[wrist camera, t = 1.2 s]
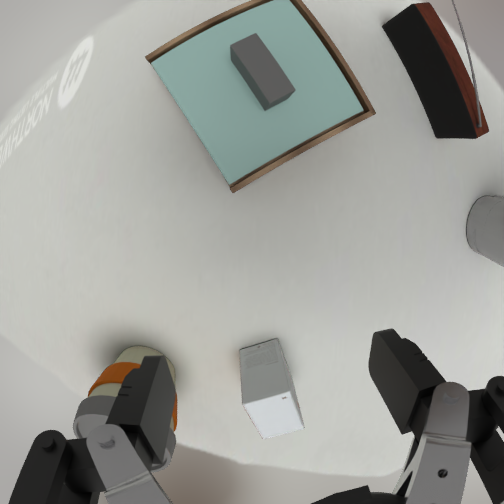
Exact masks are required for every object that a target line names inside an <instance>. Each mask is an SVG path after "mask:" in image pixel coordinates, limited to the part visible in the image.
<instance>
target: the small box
mask: <svg viewBox="0 0 504 504" xmlns="http://www.w3.org/2000/svg"><path fill="white" fill-rule="evenodd" d="M240 372H241V391H242V405H243V407H244V408H245V410H246V412H247V413H248V415H249V417H250V419H251V420H252V422H253V424H254V425H255V427H256V429H257V430H258V432H259V434H260V435H261V437H262V439H266V438H271V437H275V436H279V435H283V434H287V433H290V432H294V431H298V430H301V429H304V428H305V427H304V423H303V419H302V415H301V411H300V407H299V403H298V399H297V395H296V391H295V387H294V383H293V380H292V376H291V374H290V371H289V368H288V366H287V363H286V360H285V357H284V355H283V352H282V349H281V346H280V344H279V341H278V339H274V340H271V341H268V342H265V343H261V344H258V345H255V346H251V347H248V348H245V349H241V350H240Z"/></svg>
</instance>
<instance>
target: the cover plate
mask: <svg viewBox="0 0 504 504" xmlns="http://www.w3.org/2000/svg"><path fill="white" fill-rule="evenodd" d="M151 64H152V66H153V67H154V69H155V71H156V72H157V74H158V75H159V77H160V78H161V80H162V81H163V83H164V84H165V86H166V87H167V89H168V90H169V92H170V93H171V95H172V96H173V98H174V100H175V101H176V103H177V104H178V106H179V107H180V109H181V110H182V112H183V113H184V115H185V116H186V118H187V120H188V121H189V123H190V124H191V126H192V127H193V129H194V130H195V132H196V134H197V135H198V137H199V138H200V140H201V141H202V143H203V144H204V146H205V148H206V149H207V151H208V152H209V154H210V155H211V157H212V159H213V160H214V162H215V163H216V165H217V166H218V168H219V170H220V171H221V173H222V174H223V176H224V178H225V179H226V181H227V182H228V184H229V185H230V184H232V183H233V182H235V181H236V180H238V179H240V178H241V177H243V176H245V175H246V174H248V173H250V172H251V171H253V170H255V169H256V168H258V167H260V166H262V165H263V164H265V163H267V162H268V161H270V160H272V159H274V158H275V157H277V156H279V155H281V154H282V153H284V152H286V151H288V150H289V149H291V148H293V147H295V146H297V145H298V144H300V143H302V142H304V141H306V140H308V139H309V138H311V137H313V136H315V135H317V134H319V133H321V132H322V131H324V130H326V129H328V128H330V127H332V126H334V125H336V124H338V123H340V122H342V121H344V120H346V119H347V118H349V117H351V116H353V115H355V114H357V113H359V112H361V111H363V108H362V106H361V104H360V103H359V101H358V99H357V97H356V96H355V94H354V92H353V90H352V89H351V87H350V85H349V84H348V82H347V80H346V79H345V77H344V76H343V74H342V72H341V71H340V69H339V68H338V66H337V64H336V63H335V61H334V60H333V58H332V57H331V55H330V54H329V52H328V51H327V49H326V48H325V47H324V45H323V44H322V42H321V41H320V39H319V38H318V37H317V35H316V34H315V32H314V31H313V30H312V28H311V27H310V26H309V24H308V23H307V22H306V20H305V19H304V18H303V16H302V15H301V14H300V13H299V11H298V10H297V9H296V8H295V6H294V5H293V4H292V3H291V1H290V0H273V1H270V2H268V3H265V4H263V5H260V6H258V7H255V8H253V9H250V10H248V11H246V12H243V13H241V14H239V15H237V16H234V17H232V18H230V19H228V20H226V21H224V22H222V23H220V24H217V25H215V26H213V27H212V28H210V29H208V30H206V31H204V32H202V33H200V34H198V35H196V36H195V37H193V38H191V39H189V40H187V41H186V42H184V43H182V44H180V45H179V46H177V47H175V48H174V49H172V50H170V51H169V52H167V53H166V54H164V55H162V56H161V57H159V58H158V59H156V60H155V61H153V62H152V63H151Z"/></svg>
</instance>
